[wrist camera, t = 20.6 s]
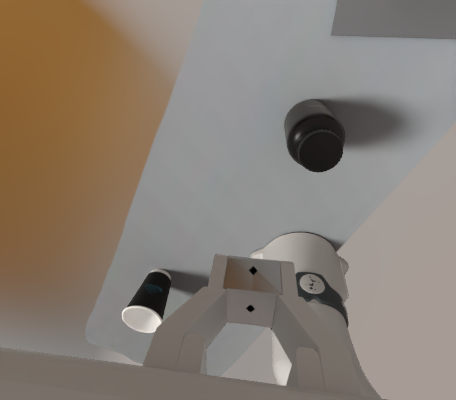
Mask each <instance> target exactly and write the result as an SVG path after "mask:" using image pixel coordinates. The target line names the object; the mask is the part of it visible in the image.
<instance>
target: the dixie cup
mask: <svg viewBox="0 0 456 400" xmlns="http://www.w3.org/2000/svg"><path fill="white" fill-rule="evenodd" d="M170 285H171V276H170V274H169V273H168V272H166V271H165V270H162V269H155V270H153V271H151V273H149V274H148V276H147V277H146V279H145V280H144V282H143V283H142V285H141V287H140V288H139V290H138V291H137V293H136V294H135V296H134V297H133V299H132V300H131V302H130V303H129V305H128V307H127V308H125V309H124V310H123V312H122V319H123V321H124V322H125V323H126V324H127V325H128V326H129V327H131V328H132V329H134V330H137V331H140V332H145V333H152V332H155V331H156V328H157V327H158V326H159V325H160V324H161V323H163V322H162V319H163V315H164V310H165V306H166V302H167V298H168V294H169V289H170Z"/></svg>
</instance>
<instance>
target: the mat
mask: <svg viewBox="0 0 456 400" xmlns="http://www.w3.org/2000/svg"><path fill="white" fill-rule="evenodd" d="M331 35H335V36H369V37H404V38H438V39H456V0H338V2H337V7H336V12H335V17H334V22H333V28H332V33H331Z"/></svg>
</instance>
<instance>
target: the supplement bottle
mask: <svg viewBox="0 0 456 400" xmlns="http://www.w3.org/2000/svg"><path fill="white" fill-rule="evenodd" d="M284 128H285V136H286V142H287V148H288V151H289V154H290V155H291V157H292V158H293V159H294V160H295V161H296V162H297V163H298V164H300V165H302V166H303V167H305V168H306V169H308V170H309V171H313V172H323V171H327V170H330V169H331V168H333V167H334V166H335V165H337V164H338V162H339V161H340V159H341V157H342V154H343V147H344V144H345V131H344V128H343V126H342V124H341V123H340V121H339V120H338V119H337V117H336V116H335V115H334V114H333V113H332V111H331V110H330V109H329V108H328V107H327V106H326V105H325V104H324V103H322V102H320V101H317V100H305V101H302V102H300V103H298V104H296V105H295V106H294V107H293V108H292V109H291V110H290V111H289V112H288V114H287V116H286V119H285V124H284Z"/></svg>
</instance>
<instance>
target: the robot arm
mask: <svg viewBox="0 0 456 400" xmlns="http://www.w3.org/2000/svg"><path fill="white" fill-rule="evenodd" d="M347 270H348V263H347V262H346V261H345V260H344V259H342V258H341V257H339V256H338V255H337V253H336V251H335V250H334V248H333V246H332V245H331V244H330V243H329V242H328V241H326V240H325V239H323V238H322V237H319V236H317V235H314V234H310V233H290V234H286V235H283V236H280V237H278V238H276V239H274V240H273V241H272V242H270V243H269V244H268V245H267V246H266V247H265V248H263V249H260V250H258V251H255V252H253V253H252V254H251V256H250V258H245V257H237V256H226V255H219V254H216V255H215V257H214V260H213V265H212V269H211V274H210V278H209V282H208V287H205V286H204V287H202V288H201V289H200V290H199V291H198V292H197V293H196V294H194V295H193V296H192V297H191V298H190V299H189V300H188V301H186V302H185V303H184V304H183V305H182V306H181V307H180V308H179V309H177V310H176V311H175V312H174V313H173V314H172V315H171V316H169V317H168V318H167V319H166V320H165V321H164V322H163V323H161V324H160V325H159V326H158V327H157V328H156V331H155V334H154V336H153V339H152V342H151V344H150V347H149V350H148V352H147V355H146V358H145V360H144V363H143V366H137V365H130V364H123V363H116V362H109V361H101V360H94V359H87V358H79V357H72V356H65V355H57V354H50V353H43V352H36V351H28V350H22V349H14V348H7V347H0V400H386V399H382V398H381V397H380V396H379V394H378V393H377V392H376V391H375V390H374V388H373V387H372V385H371V384H370V383H369V381H368V379H367V378H366V376H365V374H364V372H363V370H362V368H361V366H360V363H359V361H358V358H357V355H356V353H355V350H354V347H353V344H352V341H351V338H350V335H349V332H348V318H347V317H348V316H347V311H346V307H345V306H344V302H345V301H346V299H347V298H348V290H347V286H346V281H345V277H344V275H345V273H346V272H347ZM226 322H228V323H239V324H249V325H256V326H263V327H270V328H271V330H272V354H273V372H274V375H275V378H276V381H277V383H278V385H276V384H269V383H262V382H254V381H247V380H240V379H232V378H225V377H218V376H211V375H207V367H206V349H207V347H208V346H209V345H210V344H211V342H212V341H213V340H214V338H215V337H216V336H217V335H218V333H219V332H220V331H221V330H222V328H223V327H224V326H225V324H226Z"/></svg>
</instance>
